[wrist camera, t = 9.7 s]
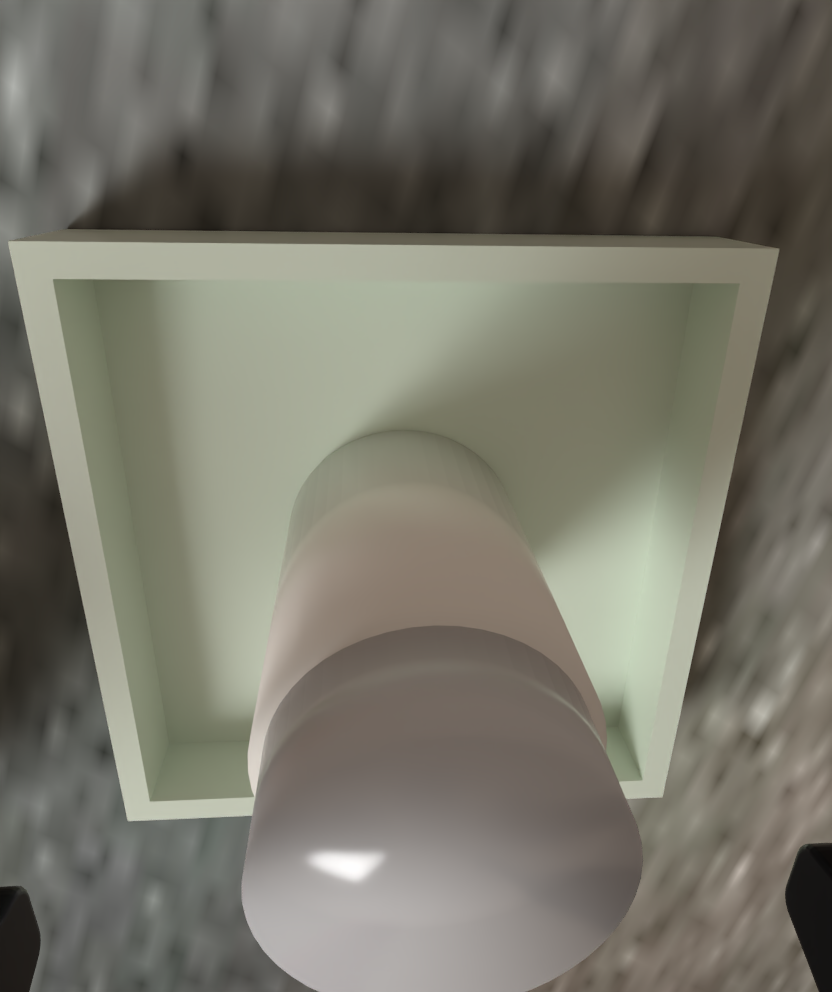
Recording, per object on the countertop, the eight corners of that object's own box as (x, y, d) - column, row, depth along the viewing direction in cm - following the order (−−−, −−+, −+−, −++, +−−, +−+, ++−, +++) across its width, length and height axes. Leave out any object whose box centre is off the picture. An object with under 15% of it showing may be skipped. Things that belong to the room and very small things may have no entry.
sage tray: (716, 235, 15) (779, 248, 13) (628, 727, 21) (662, 797, 18) (64, 229, 14) (7, 241, 12) (154, 745, 20) (128, 821, 17)
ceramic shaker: (521, 428, 16) (694, 711, 8) (505, 625, 18) (626, 1005, 10) (282, 431, 15) (201, 730, 7) (295, 631, 18) (242, 1033, 10)
